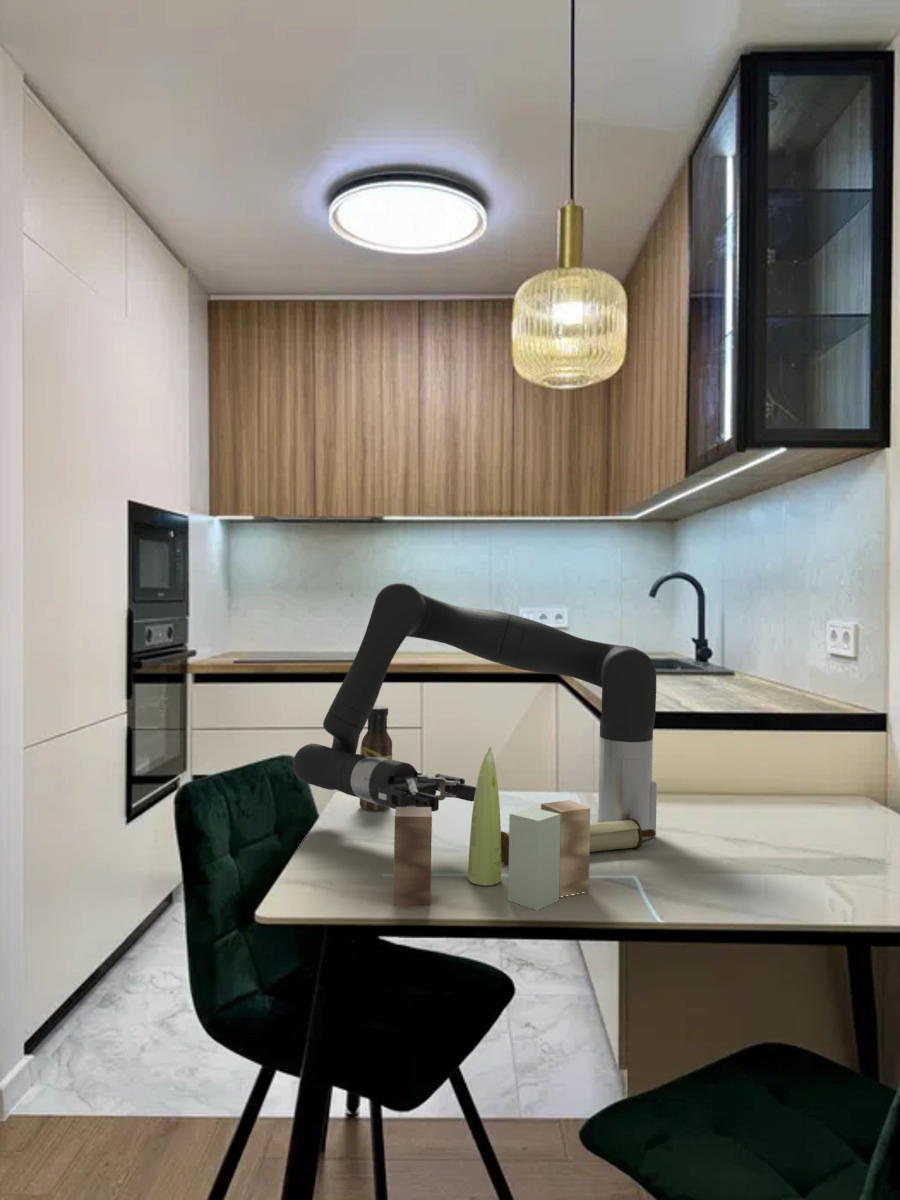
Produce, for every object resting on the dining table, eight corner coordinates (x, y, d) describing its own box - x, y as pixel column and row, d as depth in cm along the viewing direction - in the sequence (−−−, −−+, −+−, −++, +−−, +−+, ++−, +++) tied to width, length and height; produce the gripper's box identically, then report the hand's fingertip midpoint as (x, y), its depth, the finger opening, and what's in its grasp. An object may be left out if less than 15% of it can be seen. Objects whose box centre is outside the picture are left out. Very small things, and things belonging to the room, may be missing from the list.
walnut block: (429, 892, 116) (431, 807, 115) (430, 905, 111) (431, 816, 110) (394, 891, 115) (395, 806, 115) (393, 905, 110) (394, 816, 110)
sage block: (530, 891, 116) (531, 807, 116) (559, 900, 113) (560, 814, 113) (507, 900, 113) (509, 813, 113) (537, 910, 109) (538, 820, 109)
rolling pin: (645, 842, 142) (645, 813, 142) (664, 852, 136) (664, 822, 136) (472, 860, 130) (473, 829, 130) (486, 871, 125) (486, 839, 125)
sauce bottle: (352, 806, 161) (354, 705, 161) (379, 802, 165) (381, 703, 165) (370, 814, 156) (371, 709, 156) (397, 809, 160) (399, 707, 159)
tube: (511, 884, 119) (513, 750, 119) (482, 890, 116) (485, 753, 116) (488, 872, 124) (490, 743, 124) (460, 878, 121) (462, 746, 121)
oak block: (568, 881, 121) (569, 800, 121) (588, 892, 116) (590, 808, 116) (539, 886, 119) (541, 803, 119) (559, 897, 114) (561, 811, 114)
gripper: (351, 765, 130) (424, 781, 119) (415, 753, 140) (487, 767, 129) (350, 812, 130) (423, 833, 119) (414, 797, 141) (486, 815, 129)
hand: (456, 799), depth 124 cm, fingers open, 8 cm apart
